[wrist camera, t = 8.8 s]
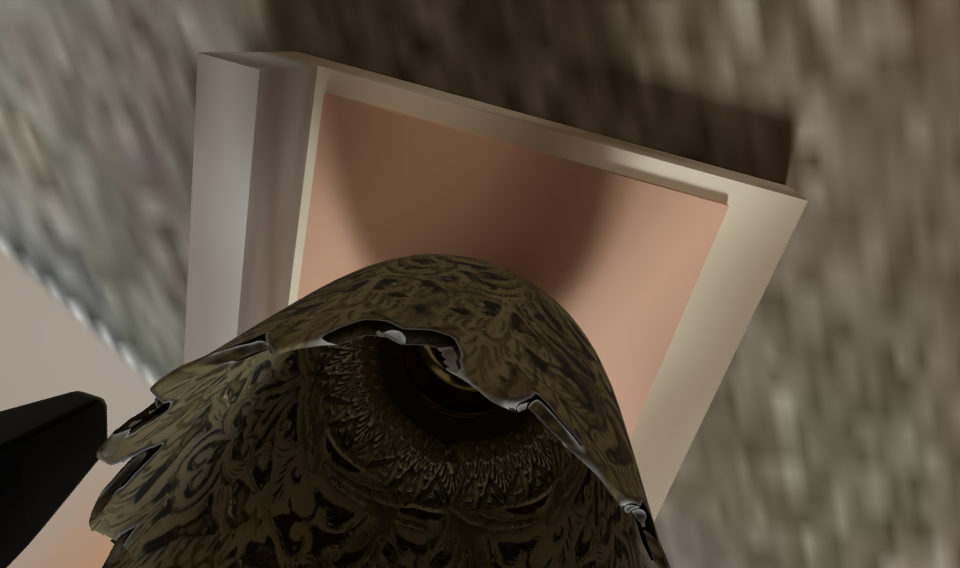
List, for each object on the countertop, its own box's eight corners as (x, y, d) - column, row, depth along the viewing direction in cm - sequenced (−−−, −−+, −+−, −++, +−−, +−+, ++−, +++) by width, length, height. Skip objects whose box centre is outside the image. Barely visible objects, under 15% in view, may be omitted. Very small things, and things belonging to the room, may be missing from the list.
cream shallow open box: (786, 185, 14) (857, 235, 10) (638, 507, 18) (650, 627, 14) (297, 51, 14) (197, 52, 11) (260, 388, 18) (179, 472, 15)
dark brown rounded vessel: (322, 420, 16) (106, 726, 9) (338, 153, 13) (37, 284, 6) (592, 485, 16) (594, 874, 8) (670, 217, 13) (779, 453, 5)
